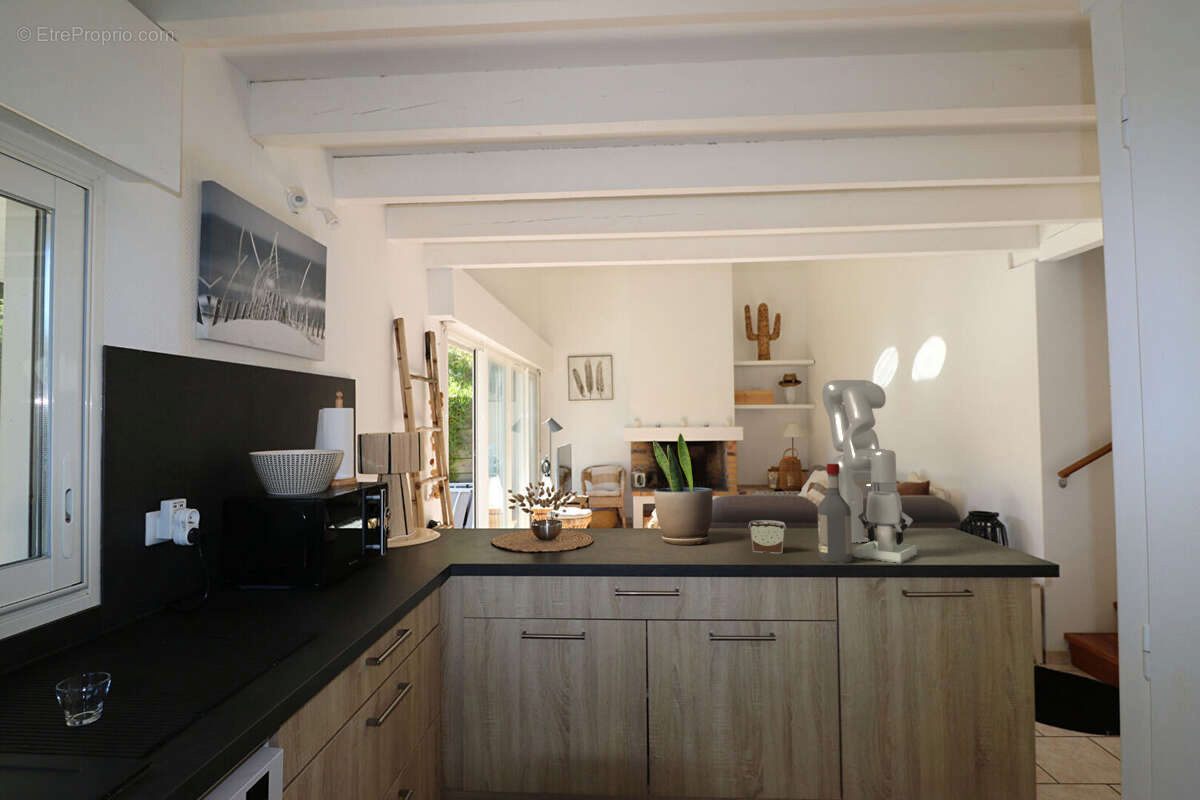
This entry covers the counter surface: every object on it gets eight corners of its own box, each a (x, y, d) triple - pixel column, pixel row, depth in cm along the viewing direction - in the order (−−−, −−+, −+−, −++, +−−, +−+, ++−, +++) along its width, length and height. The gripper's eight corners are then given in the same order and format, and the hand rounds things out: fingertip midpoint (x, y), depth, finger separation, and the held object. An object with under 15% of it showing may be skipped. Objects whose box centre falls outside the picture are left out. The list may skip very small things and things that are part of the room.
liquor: (848, 558, 199) (846, 463, 201) (853, 563, 190) (850, 464, 192) (818, 556, 201) (816, 463, 203) (821, 562, 192) (819, 464, 194)
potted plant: (645, 538, 237) (644, 433, 239) (696, 535, 243) (695, 432, 246) (668, 548, 217) (667, 432, 219) (724, 544, 223) (722, 432, 226)
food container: (787, 550, 212) (787, 520, 213) (786, 553, 206) (786, 523, 207) (750, 548, 216) (749, 519, 217) (748, 551, 210) (748, 521, 211)
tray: (853, 557, 200) (853, 548, 200) (872, 549, 213) (872, 540, 213) (900, 563, 190) (900, 553, 190) (916, 554, 204) (916, 545, 204)
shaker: (875, 553, 202) (875, 520, 202) (880, 551, 205) (879, 519, 206) (890, 555, 199) (890, 521, 199) (895, 553, 202) (894, 520, 203)
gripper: (852, 487, 206) (853, 541, 205) (909, 490, 194) (911, 547, 193) (860, 485, 211) (861, 538, 210) (916, 488, 200) (917, 544, 199)
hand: (885, 542), depth 202 cm, fingers open, 7 cm apart
